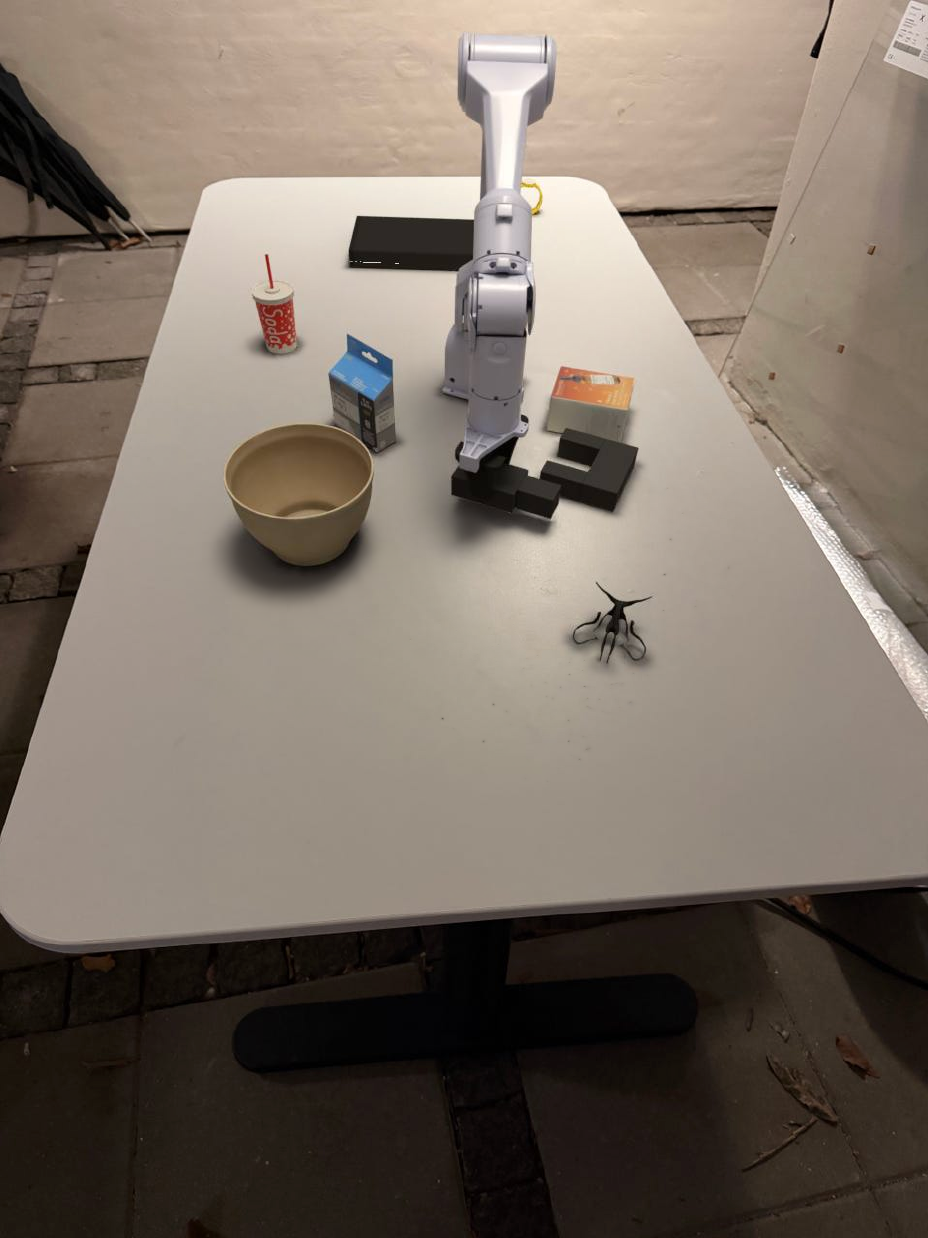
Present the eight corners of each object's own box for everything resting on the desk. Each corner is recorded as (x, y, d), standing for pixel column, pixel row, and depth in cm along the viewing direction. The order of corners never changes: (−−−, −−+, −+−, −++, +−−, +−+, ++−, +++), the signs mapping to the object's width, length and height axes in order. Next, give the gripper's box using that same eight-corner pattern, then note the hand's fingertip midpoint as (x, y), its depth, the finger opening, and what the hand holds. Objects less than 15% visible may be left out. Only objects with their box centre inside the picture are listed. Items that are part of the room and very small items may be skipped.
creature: (638, 679, 81) (654, 616, 85) (646, 658, 77) (663, 591, 80) (565, 659, 83) (584, 597, 86) (569, 636, 78) (589, 572, 82)
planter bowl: (268, 607, 85) (249, 536, 77) (225, 517, 94) (205, 445, 86) (401, 561, 90) (397, 489, 82) (349, 480, 99) (340, 408, 91)
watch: (511, 216, 151) (513, 183, 147) (509, 210, 153) (511, 178, 148) (541, 216, 152) (544, 183, 147) (539, 210, 154) (542, 177, 149)
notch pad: (538, 489, 99) (540, 471, 97) (563, 445, 105) (565, 427, 103) (613, 511, 97) (617, 493, 94) (634, 465, 103) (638, 447, 100)
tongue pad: (450, 495, 94) (451, 475, 92) (467, 470, 97) (467, 451, 95) (547, 524, 91) (550, 505, 89) (561, 499, 94) (564, 479, 92)
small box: (629, 410, 101) (550, 396, 103) (621, 444, 106) (545, 431, 107) (635, 376, 106) (560, 364, 108) (627, 411, 111) (555, 398, 112)
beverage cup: (254, 351, 118) (235, 259, 108) (275, 331, 122) (259, 241, 111) (289, 360, 117) (274, 268, 106) (309, 340, 121) (296, 249, 110)
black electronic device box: (358, 231, 145) (356, 214, 143) (481, 235, 146) (481, 218, 143) (349, 267, 136) (348, 250, 134) (481, 271, 136) (481, 254, 134)
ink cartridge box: (332, 425, 107) (322, 343, 97) (354, 413, 109) (345, 332, 99) (377, 454, 103) (370, 371, 93) (398, 441, 105) (394, 359, 95)
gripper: (505, 432, 78) (497, 530, 88) (553, 360, 86) (540, 457, 97) (441, 414, 80) (441, 512, 90) (494, 345, 88) (488, 442, 99)
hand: (489, 483), depth 94 cm, fingers closed on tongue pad, 5 cm apart
